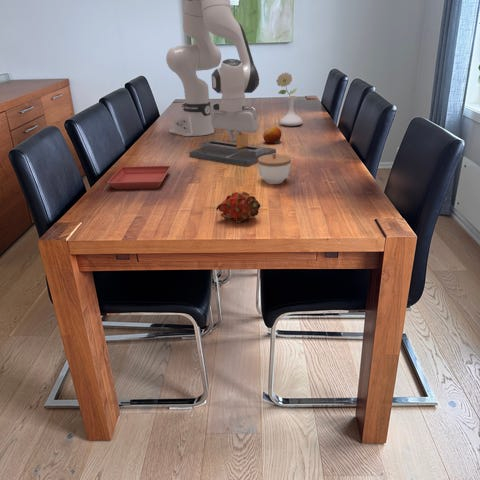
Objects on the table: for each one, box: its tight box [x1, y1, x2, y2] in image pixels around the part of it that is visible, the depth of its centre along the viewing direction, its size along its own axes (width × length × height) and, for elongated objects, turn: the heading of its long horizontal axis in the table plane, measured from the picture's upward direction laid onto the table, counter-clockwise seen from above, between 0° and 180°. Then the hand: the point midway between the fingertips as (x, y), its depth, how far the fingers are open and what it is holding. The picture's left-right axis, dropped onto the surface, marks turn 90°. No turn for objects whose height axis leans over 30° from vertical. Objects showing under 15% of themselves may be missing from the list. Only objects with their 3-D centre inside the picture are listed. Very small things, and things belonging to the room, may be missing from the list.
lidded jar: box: [257, 152, 292, 185], centre depth 155 cm, size 11×11×9 cm
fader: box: [235, 132, 249, 149], centre depth 182 cm, size 2×5×7 cm, turn 145°
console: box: [188, 139, 277, 168], centre depth 186 cm, size 28×20×4 cm
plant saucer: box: [107, 165, 171, 190], centre depth 160 cm, size 18×18×3 cm
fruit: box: [262, 126, 282, 145], centre depth 202 cm, size 8×8×8 cm
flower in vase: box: [276, 72, 303, 127], centre depth 229 cm, size 13×11×25 cm
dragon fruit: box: [216, 191, 261, 224], centre depth 127 cm, size 8×8×12 cm
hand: (235, 141), depth 184 cm, fingers closed
